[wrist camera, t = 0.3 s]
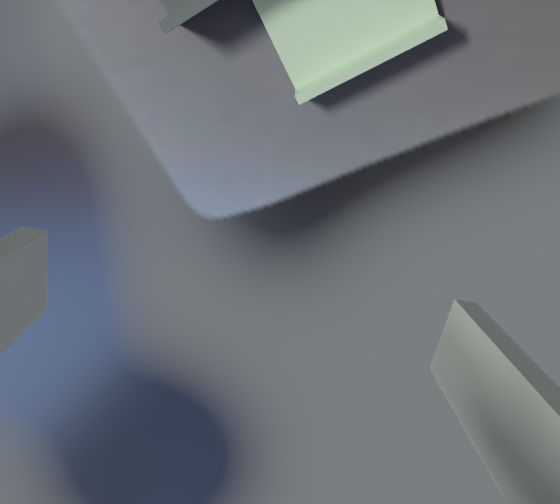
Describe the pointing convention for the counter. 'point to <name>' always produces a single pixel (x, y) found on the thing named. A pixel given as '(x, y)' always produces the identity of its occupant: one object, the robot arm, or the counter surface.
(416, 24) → the trough
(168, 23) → the checker cradle
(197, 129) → the counter surface
